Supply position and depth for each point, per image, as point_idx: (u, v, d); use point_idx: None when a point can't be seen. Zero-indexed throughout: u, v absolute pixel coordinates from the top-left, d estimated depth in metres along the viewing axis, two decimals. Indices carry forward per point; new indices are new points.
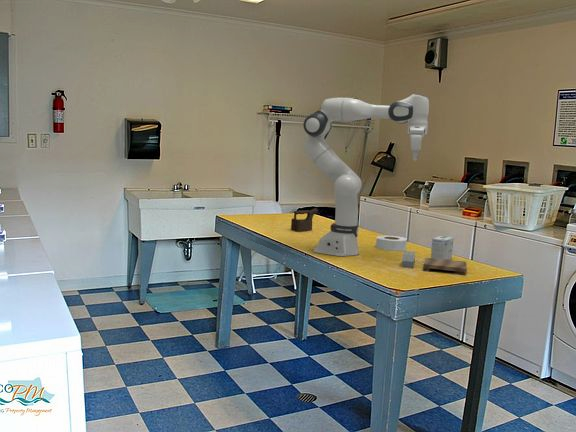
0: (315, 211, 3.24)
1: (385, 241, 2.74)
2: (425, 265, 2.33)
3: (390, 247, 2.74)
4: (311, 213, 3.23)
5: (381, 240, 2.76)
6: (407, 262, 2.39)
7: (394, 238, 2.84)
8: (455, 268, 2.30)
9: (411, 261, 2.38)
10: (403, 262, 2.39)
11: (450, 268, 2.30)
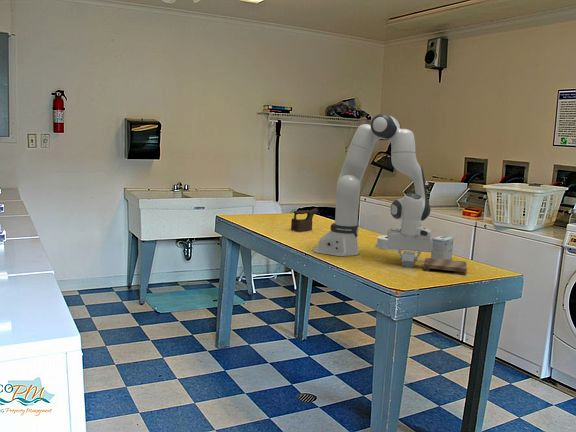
0: (315, 211, 3.24)
1: (386, 241, 2.75)
2: (425, 265, 2.33)
3: None
4: (311, 213, 3.23)
5: (382, 240, 2.77)
6: (407, 262, 2.39)
7: None
8: (455, 268, 2.30)
9: (411, 261, 2.38)
10: (403, 262, 2.39)
11: (450, 268, 2.30)
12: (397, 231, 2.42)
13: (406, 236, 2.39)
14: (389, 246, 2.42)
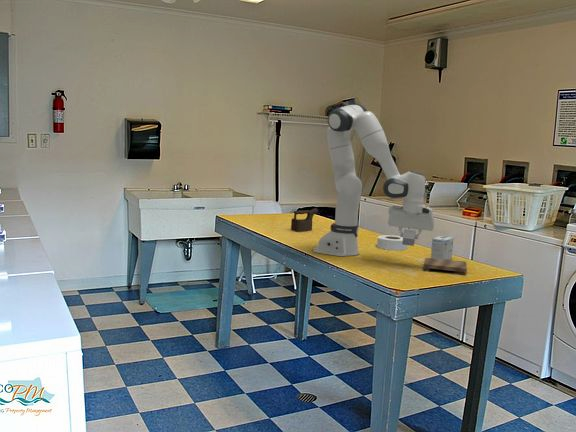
0: (315, 211, 3.24)
1: (386, 241, 2.75)
2: (425, 265, 2.33)
3: (391, 246, 2.75)
4: (311, 213, 3.23)
5: (382, 240, 2.77)
6: (408, 239, 2.38)
7: (395, 238, 2.85)
8: (455, 268, 2.30)
9: (412, 238, 2.37)
10: (404, 239, 2.38)
11: (450, 268, 2.30)
12: (399, 209, 2.41)
13: (408, 214, 2.38)
14: (390, 223, 2.41)
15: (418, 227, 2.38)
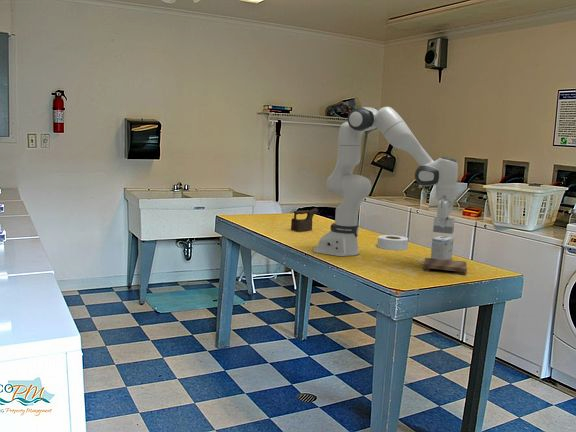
0: (315, 211, 3.24)
1: (387, 240, 2.76)
2: (425, 265, 2.33)
3: (392, 246, 2.75)
4: (311, 213, 3.23)
5: (383, 240, 2.77)
6: (453, 227, 2.33)
7: (395, 238, 2.85)
8: (455, 268, 2.30)
9: (453, 225, 2.35)
10: (452, 228, 2.32)
11: (450, 268, 2.30)
12: (444, 199, 2.28)
13: (451, 201, 2.31)
14: (445, 216, 2.26)
15: (450, 212, 2.37)
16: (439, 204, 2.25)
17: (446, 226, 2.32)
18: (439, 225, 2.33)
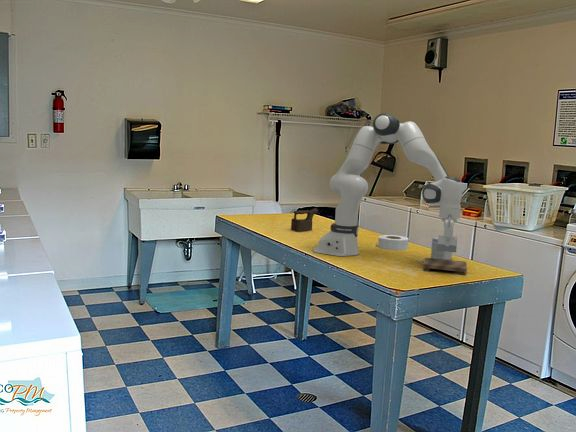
0: (315, 211, 3.24)
1: (387, 240, 2.76)
2: (425, 265, 2.33)
3: (392, 246, 2.75)
4: (311, 213, 3.23)
5: (383, 239, 2.78)
6: None
7: (396, 237, 2.86)
8: (455, 268, 2.30)
9: None
10: (456, 247, 2.34)
11: (450, 268, 2.30)
12: (450, 218, 2.29)
13: (455, 220, 2.33)
14: (452, 235, 2.27)
15: None
16: (446, 223, 2.27)
17: (450, 245, 2.34)
18: (443, 244, 2.35)
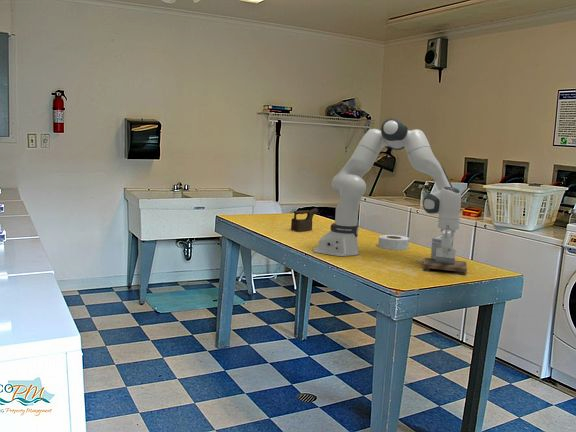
0: (315, 211, 3.24)
1: (387, 240, 2.77)
2: (425, 265, 2.33)
3: (392, 246, 2.76)
4: (311, 213, 3.23)
5: (383, 239, 2.78)
6: None
7: (396, 237, 2.86)
8: (455, 268, 2.30)
9: None
10: (454, 259, 2.34)
11: (450, 268, 2.30)
12: (448, 229, 2.30)
13: (454, 231, 2.33)
14: (449, 246, 2.28)
15: None
16: (443, 234, 2.27)
17: (448, 257, 2.34)
18: (441, 256, 2.35)
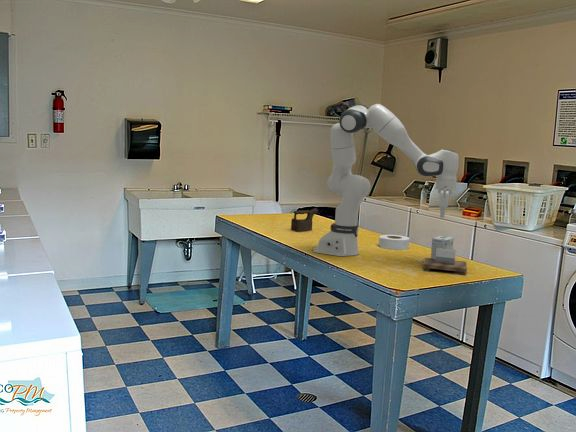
0: (315, 211, 3.24)
1: (388, 240, 2.77)
2: (425, 265, 2.33)
3: (393, 246, 2.76)
4: (311, 213, 3.23)
5: (384, 239, 2.79)
6: None
7: (397, 237, 2.87)
8: (455, 268, 2.30)
9: None
10: (454, 259, 2.34)
11: (450, 268, 2.30)
12: (446, 189, 2.34)
13: (451, 192, 2.37)
14: (447, 206, 2.31)
15: None
16: (441, 193, 2.31)
17: (448, 257, 2.34)
18: (441, 256, 2.35)
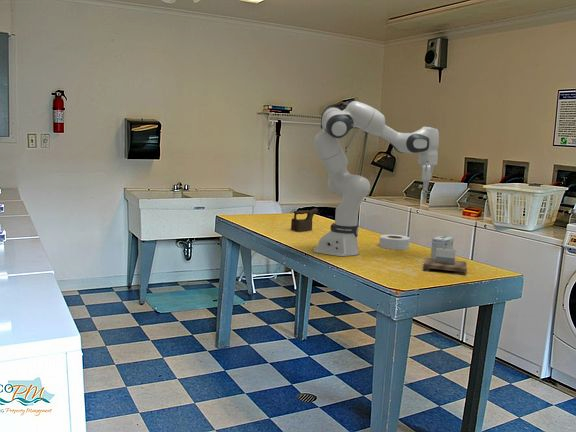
0: (315, 211, 3.24)
1: (388, 240, 2.78)
2: (425, 265, 2.33)
3: (393, 246, 2.77)
4: (311, 213, 3.23)
5: (384, 239, 2.79)
6: None
7: (397, 237, 2.87)
8: (455, 268, 2.30)
9: None
10: (454, 259, 2.34)
11: (450, 268, 2.30)
12: (428, 163, 2.51)
13: (433, 166, 2.55)
14: (429, 179, 2.49)
15: None
16: (424, 168, 2.48)
17: (448, 257, 2.34)
18: (441, 256, 2.35)
